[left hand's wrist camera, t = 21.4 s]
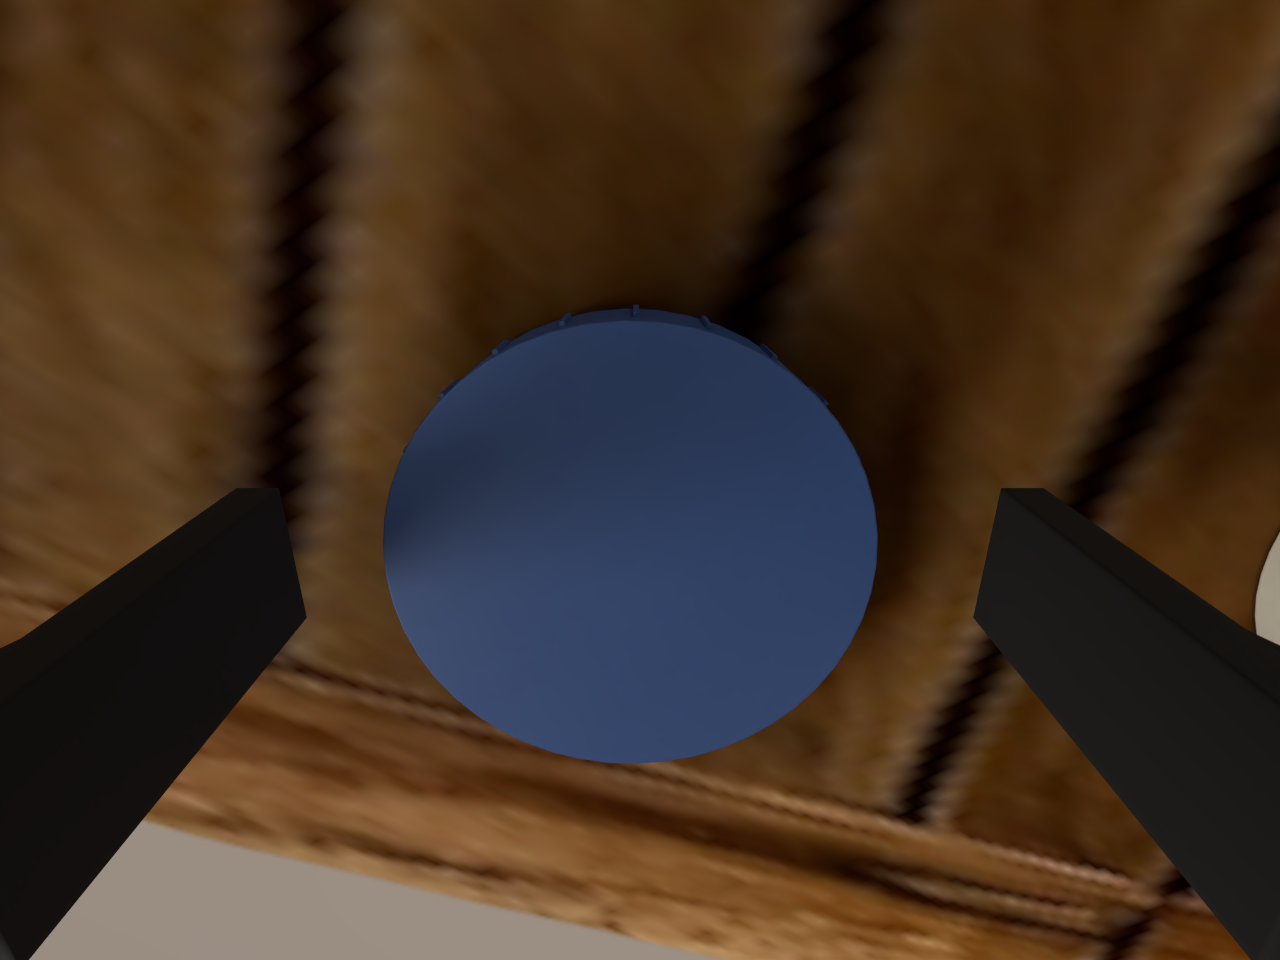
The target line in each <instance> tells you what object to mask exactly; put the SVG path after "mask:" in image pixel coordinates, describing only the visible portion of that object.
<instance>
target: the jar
mask: <svg viewBox="0 0 1280 960" xmlns="http://www.w3.org/2000/svg"><path fill="white" fill-rule="evenodd" d="M1255 624H1256V634H1257V635H1259V636H1261V637H1263V638H1265V639H1267V640H1270V641H1272V642H1274V643H1276V644H1278V645H1280V532H1279V534H1278V536H1277V538H1276V540H1275V542H1274V544H1273V546H1272V547H1271V549H1270V551H1269V554H1268V556H1267V559H1266V562H1265V564H1264V567H1263V570H1262V572H1261V576H1260V580H1259V584H1258V589H1257V593H1256V603H1255Z"/></svg>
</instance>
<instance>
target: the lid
mask: <svg viewBox="0 0 1280 960" xmlns="http://www.w3.org/2000/svg"><path fill="white" fill-rule="evenodd" d="M777 358H778V356H776V355H775V354H774V353H773V352H772V351H771V350H770V349H769V348H768V347H767V346H766V345H764V344H763V343H762V344H761V345H760V347H759V346H758V345H756V344H755V343H753V342H752V341H750V340H749V339H747V338H745V337H743V336H741V335H738V334H736V333H734V332H732V331H730V330H728V329H726V328H724V327H722V326H720V325H717V324H714V323H711V322H710V321H709V320H708V318H707V317H706V316H703V315H701V317H700V319H698V318H695V317H692V316H689V315H683V314H678V313H672V312H666V311H661V310H649V309H639V305H633V309H614V310H603V311H592V312H588V313H584V314H579V315H575V316H571V313H570V312H569V313H565V314H564V316H563V317H562V318H561V319H559V320H556V321H554V322H551V323H548V324H546V325H543V326H540V327H538V328H535V329H533V330H530V331H528V332H527V333H525V334H523V335H521V336H519V337H518V338H516V339H514V340H512V341H510V340H509V339H508V338H507V339H505V340H504V341H502V342H501V343H500V344H499V345H498V346H497V347H496V348H495V349H493V350H492V354H491V355H490V356H488V357H487V358H486V359H484V360H483V361H482V362H480V363H479V364H478V365H477V366H476V367H474V368H473V369H472V370H471V371H470V372H469V373H468V374H467V375H466V376H464V377H463V378H462V379H461V380H459V379H457V380H455V381H454V382H453V383H452V384H451V385H450V386H449V387H447V388H446V389H445V390H444V391H443V392H442V393H441V394H440V395H439V396H438V397H439V398H440V399H441V400H440V401H439V402H438V403H437V404H436V405H435V406H434V407H433V409H432V410H431V411H430V413H429V414H428V415H427V417H426V418H425V419H424V421H423V422H422V423H421V425H420V426H419V427H418V429H417V430H416V431H415V433H414V435H413V437H412V439H411V441H410V442H409V444H408V445H407V446H406V447H405V449H404V451H403V453H404V454H403V455H402V457H401V459H400V462H399V465H398V468H397V470H396V473H395V476H394V479H393V482H392V484H391V487H390V492H389V497H388V502H387V507H386V512H385V517H384V539H383V550H384V560H385V570H386V577H387V581H388V585H389V589H390V593H391V597H392V601H393V605H394V607H395V610H396V612H397V615H398V617H399V620H400V622H401V625H402V627H403V629H404V631H405V633H406V635H407V637H408V638H409V640H410V642H411V644H412V645H413V647H414V649H415V651H416V652H417V654H418V656H419V657H420V658H421V660H422V661H423V662H424V664H425V665H426V666H427V668H428V669H429V670H430V671H431V673H432V674H433V675H434V677H435V678H436V679H437V680H438V681H439V682H440V683H441V684H442V685H443V686H444V687H445V688H446V689H447V690H448V691H449V692H450V693H451V694H452V695H453V696H454V697H455V698H456V699H457V700H458V701H460V702H461V703H462V704H463V705H465V706H466V707H467V708H468V709H470V710H471V711H472V712H473V713H475V714H476V715H477V716H479V717H480V718H482V719H483V720H485V721H487V722H488V723H490V724H491V725H493V726H495V727H496V728H498V729H499V730H501V731H503V732H505V733H507V734H509V735H511V736H513V737H516V738H518V739H520V740H522V741H524V742H526V743H529V744H531V745H534V746H537V747H540V748H543V749H545V750H548V751H551V752H554V753H558V754H563V755H567V756H571V757H575V758H579V759H585V760H593V761H601V762H608V763H650V762H663V761H670V760H676V759H681V758H687V757H692V756H696V755H700V754H703V753H707V752H710V751H713V750H717V749H720V748H723V747H725V746H728V745H730V744H733V743H735V742H738V741H740V740H742V739H745V738H747V737H749V736H751V735H753V734H755V733H756V732H758V731H760V730H762V729H764V728H765V727H767V726H769V725H771V724H773V723H774V722H775V721H777V720H778V719H780V718H781V717H783V716H784V715H785V714H787V713H788V712H790V711H791V710H792V709H794V708H795V707H796V706H797V705H799V704H800V703H801V702H802V701H803V700H804V699H805V698H806V697H808V696H809V695H810V694H811V693H812V692H813V691H814V690H815V689H816V688H817V687H818V686H819V685H820V684H821V683H822V681H823V680H824V679H825V678H826V677H827V676H828V675H829V673H830V672H831V671H832V670H833V669H834V668H835V666H836V665H837V663H838V662H839V660H840V659H841V657H842V656H843V654H844V653H845V651H846V650H847V648H848V647H849V645H850V643H851V641H852V639H853V637H854V635H855V633H856V631H857V629H858V627H859V625H860V623H861V621H862V619H863V616H864V613H865V610H866V607H867V604H868V601H869V598H870V595H871V592H872V587H873V581H874V576H875V571H876V565H877V544H878V532H877V522H876V513H875V505H874V501H873V497H872V494H871V490H870V486H869V482H868V478H867V475H866V473H865V471H864V468H863V466H862V464H861V458H860V456H859V455H858V454H857V452H856V450H855V448H854V446H853V444H852V443H851V441H850V440H849V438H848V436H847V435H846V433H845V431H844V430H843V428H842V427H841V425H840V423H839V422H838V420H837V419H836V418H835V417H834V416H833V414H832V413H831V412H830V411H829V410H828V408H827V407H826V406H827V405H829V403H828V402H827V401H826V400H825V399H824V398H823V397H822V396H821V395H820V394H819V393H818V392H816V391H815V390H814V389H813V388H812V387H811V386H809V387H807V386H806V385H805V384H804V383H803V382H802V381H801V380H800V379H799V378H798V377H797V376H795V375H794V374H793V373H792V372H791V371H790V370H789V369H788V368H786V367H785V366H784V365H783V364H782V363H781V362H780V361H779V360H777Z"/></svg>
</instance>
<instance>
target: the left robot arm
mask: <svg viewBox="0 0 1280 960" xmlns="http://www.w3.org/2000/svg"><path fill="white" fill-rule="evenodd" d="M306 618H307V617H306V612H305V608H304V603H303V598H302V594H301V589H300V584H299V580H298V575H297V571H296V566H295V561H294V557H293V552H292V547H291V543H290V538H289V534H288V529H287V524H286V520H285V515H284V510H283V506H282V501H281V497H280V492H279V488H236V489H235V490H233V491H232V492H230V493H229V494H228V495H226V496H225V497H223V498H222V499H220V500H219V501H218V502H216V503H215V504H213V505H212V506H210V507H209V508H208V509H206V510H205V511H203V512H202V513H200V514H199V515H198V516H196V517H195V518H193V519H192V520H190V521H189V522H187V523H186V524H185V525H183V526H182V527H180V528H179V529H177V530H176V531H175V532H173V533H172V534H170V535H169V536H167V537H166V538H165V539H163V540H162V541H160V542H159V543H157V544H156V545H154V546H153V547H152V548H150V549H149V550H147V551H146V552H144V553H143V554H142V555H140V556H139V557H137V558H136V559H134V560H133V561H132V562H130V563H129V564H127V565H126V566H124V567H123V568H121V569H120V570H119V571H117V572H116V573H114V574H113V575H111V576H110V577H109V578H107V579H106V580H104V581H103V582H101V583H100V584H99V585H97V586H96V587H94V588H93V589H91V590H90V591H88V592H87V593H86V594H84V595H83V596H81V597H80V598H78V599H77V600H76V601H74V602H73V603H71V604H70V605H68V606H67V607H66V608H64V609H63V610H61V611H60V612H58V613H57V614H56V615H54V616H53V617H51V618H50V619H48V620H47V621H45V622H44V623H43V624H41V625H40V626H38V627H37V628H35V629H34V630H33V631H31V632H30V633H28V634H27V635H25V636H24V637H23V638H21V639H19V640H17V641H15V642H13V643H11V644H9V645H6V646H4V647H2V648H0V960H29V959H30V958H31V956H32V955H33V954H34V953H35V951H36V950H37V949H38V948H39V947H40V945H41V944H42V943H43V942H44V940H45V939H46V938H47V937H48V935H49V934H50V933H51V932H52V931H53V929H54V928H55V927H56V926H57V924H58V923H59V922H60V921H61V919H62V918H63V917H64V916H65V915H66V913H67V912H68V911H69V910H70V908H71V907H72V906H73V905H74V903H75V902H76V901H77V900H78V898H79V897H80V896H81V895H82V894H83V892H84V891H85V890H86V889H87V887H88V886H89V885H90V884H91V883H92V881H93V880H94V879H95V878H96V876H97V875H98V874H99V873H100V871H101V870H102V869H103V868H104V867H105V865H106V864H107V863H108V862H109V860H110V859H111V858H112V857H113V855H114V854H115V853H116V852H117V851H118V849H119V848H120V847H121V845H122V844H123V843H124V842H125V841H126V839H127V838H128V837H129V836H130V834H131V833H132V832H133V831H134V830H135V828H136V827H137V826H138V825H139V823H140V822H141V821H142V820H143V818H144V817H145V816H146V815H147V814H148V812H149V811H150V810H151V809H152V807H153V806H154V805H155V804H156V802H157V801H158V800H159V799H160V798H161V796H162V795H163V794H164V793H165V791H166V790H167V789H168V788H169V786H170V785H171V784H172V783H173V782H174V780H175V779H176V778H177V777H178V775H179V774H180V773H181V772H182V770H183V769H184V768H185V767H186V766H187V764H188V763H189V762H190V761H191V759H192V758H193V757H194V756H195V754H196V753H197V752H198V751H199V750H200V748H201V747H202V746H203V745H204V743H205V742H206V741H207V740H208V738H209V737H210V736H211V735H212V734H213V732H214V731H215V730H216V729H217V727H218V726H219V725H220V724H221V722H222V721H223V720H224V719H225V717H226V716H227V715H228V714H229V713H230V711H231V710H232V709H233V708H234V706H235V705H236V704H237V703H238V701H239V700H240V699H241V698H242V697H243V695H244V694H245V693H246V692H247V690H248V689H249V688H250V687H251V685H252V684H253V683H254V682H255V681H256V679H257V678H258V677H259V676H260V674H261V673H262V672H263V671H264V669H265V668H266V667H267V666H268V665H269V663H270V662H271V661H272V660H273V658H274V657H275V656H276V655H277V653H278V652H279V651H280V650H281V649H282V647H283V646H284V645H285V644H286V642H287V641H288V640H289V639H290V637H291V636H292V635H293V634H294V633H295V631H296V630H297V629H298V628H299V626H300V625H301V624H302V623H303V621H304V620H305V619H306ZM973 618H974V619H975V620H976V621H977V623H978V624H979V625H980V626H981V628H982V629H983V630H984V631H985V633H986V634H987V635H988V636H989V637H990V639H991V640H992V641H993V642H994V644H995V645H996V646H997V647H998V649H999V650H1000V651H1001V652H1002V653H1003V655H1004V656H1005V657H1006V658H1007V660H1008V661H1009V662H1010V663H1011V665H1012V666H1013V667H1014V668H1015V669H1016V671H1017V672H1018V673H1019V674H1020V676H1021V677H1022V678H1023V679H1024V681H1025V682H1026V683H1027V684H1028V685H1029V687H1030V688H1031V689H1032V690H1033V692H1034V693H1035V694H1036V695H1037V697H1038V698H1039V699H1040V700H1041V701H1042V703H1043V704H1044V705H1045V706H1046V708H1047V709H1048V710H1049V711H1050V713H1051V714H1052V715H1053V716H1054V717H1055V719H1056V720H1057V721H1058V722H1059V724H1060V725H1061V726H1062V727H1063V729H1064V730H1065V731H1066V732H1067V734H1068V735H1069V736H1070V737H1071V738H1072V740H1073V741H1074V742H1075V743H1076V745H1077V746H1078V747H1079V748H1080V750H1081V751H1082V752H1083V753H1084V754H1085V756H1086V757H1087V758H1088V759H1089V761H1090V762H1091V763H1092V764H1093V766H1094V767H1095V768H1096V769H1097V770H1098V772H1099V773H1100V774H1101V775H1102V777H1103V778H1104V779H1105V780H1106V782H1107V783H1108V784H1109V785H1110V786H1111V788H1112V789H1113V790H1114V791H1115V793H1116V794H1117V795H1118V796H1119V798H1120V799H1121V800H1122V801H1123V802H1124V804H1125V805H1126V806H1127V807H1128V809H1129V810H1130V811H1131V812H1132V814H1133V815H1134V816H1135V817H1136V818H1137V820H1138V821H1139V822H1140V823H1141V825H1142V826H1143V827H1144V828H1145V830H1146V831H1147V832H1148V833H1149V835H1150V836H1151V837H1152V838H1153V839H1154V841H1155V842H1156V843H1157V844H1158V846H1159V847H1160V848H1161V849H1162V851H1163V852H1164V853H1165V854H1166V855H1167V857H1168V858H1169V859H1170V860H1171V862H1172V863H1173V864H1174V865H1175V867H1176V868H1177V869H1178V870H1179V871H1180V873H1181V874H1182V875H1183V876H1184V878H1185V879H1186V880H1187V881H1188V883H1189V884H1190V885H1191V886H1192V887H1193V889H1194V890H1195V891H1196V892H1197V894H1198V895H1199V896H1200V897H1201V899H1202V900H1203V901H1204V902H1205V903H1206V905H1207V906H1208V907H1209V908H1210V910H1211V911H1212V912H1213V913H1214V915H1215V916H1216V917H1217V918H1218V919H1219V921H1220V922H1221V923H1222V924H1223V926H1224V927H1225V928H1226V929H1227V931H1228V932H1229V933H1230V934H1231V935H1232V937H1233V938H1234V939H1235V940H1236V942H1237V943H1238V944H1239V945H1240V947H1241V948H1242V949H1243V950H1244V952H1245V953H1246V954H1247V955H1248V956H1249V958H1250V959H1251V960H1280V645H1278V644H1276V643H1274V642H1272V641H1270V640H1267V639H1265V638H1263V637H1261V636H1259V635H1257V634H1255V633H1252V632H1250V631H1248V630H1246V629H1245V628H1243V627H1242V626H1240V625H1239V624H1237V623H1236V622H1235V621H1233V620H1232V619H1230V618H1229V617H1227V616H1226V615H1224V614H1223V613H1222V612H1220V611H1219V610H1217V609H1216V608H1214V607H1213V606H1212V605H1210V604H1209V603H1207V602H1206V601H1204V600H1203V599H1202V598H1200V597H1199V596H1197V595H1196V594H1194V593H1193V592H1192V591H1190V590H1189V589H1187V588H1186V587H1184V586H1183V585H1181V584H1180V583H1179V582H1177V581H1176V580H1174V579H1173V578H1171V577H1170V576H1169V575H1167V574H1166V573H1164V572H1163V571H1161V570H1160V569H1159V568H1157V567H1156V566H1154V565H1153V564H1151V563H1150V562H1148V561H1147V560H1146V559H1144V558H1143V557H1141V556H1140V555H1138V554H1137V553H1136V552H1134V551H1133V550H1131V549H1130V548H1128V547H1127V546H1126V545H1124V544H1123V543H1121V542H1120V541H1118V540H1117V539H1115V538H1114V537H1113V536H1111V535H1110V534H1108V533H1107V532H1105V531H1104V530H1103V529H1101V528H1100V527H1098V526H1097V525H1095V524H1094V523H1093V522H1091V521H1090V520H1088V519H1087V518H1085V517H1084V516H1082V515H1081V514H1080V513H1078V512H1077V511H1075V510H1074V509H1072V508H1071V507H1070V506H1068V505H1067V504H1065V503H1064V502H1062V501H1061V500H1060V499H1058V498H1057V497H1055V496H1054V495H1052V494H1051V493H1050V492H1048V491H1047V490H1045V489H1044V488H1001V492H1000V496H999V501H998V506H997V510H996V515H995V520H994V524H993V529H992V534H991V538H990V543H989V547H988V552H987V557H986V561H985V566H984V571H983V575H982V580H981V584H980V589H979V594H978V598H977V603H976V608H975V612H974V617H973Z"/></svg>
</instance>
